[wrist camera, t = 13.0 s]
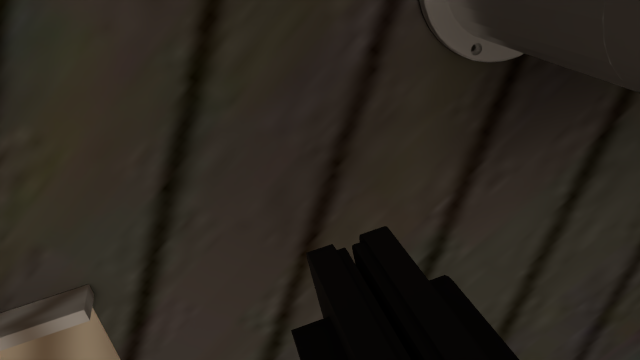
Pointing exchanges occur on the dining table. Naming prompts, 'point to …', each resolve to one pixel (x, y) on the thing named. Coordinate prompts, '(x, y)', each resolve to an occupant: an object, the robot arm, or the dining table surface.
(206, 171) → the dining table surface
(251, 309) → the dining table surface
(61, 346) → the dock
